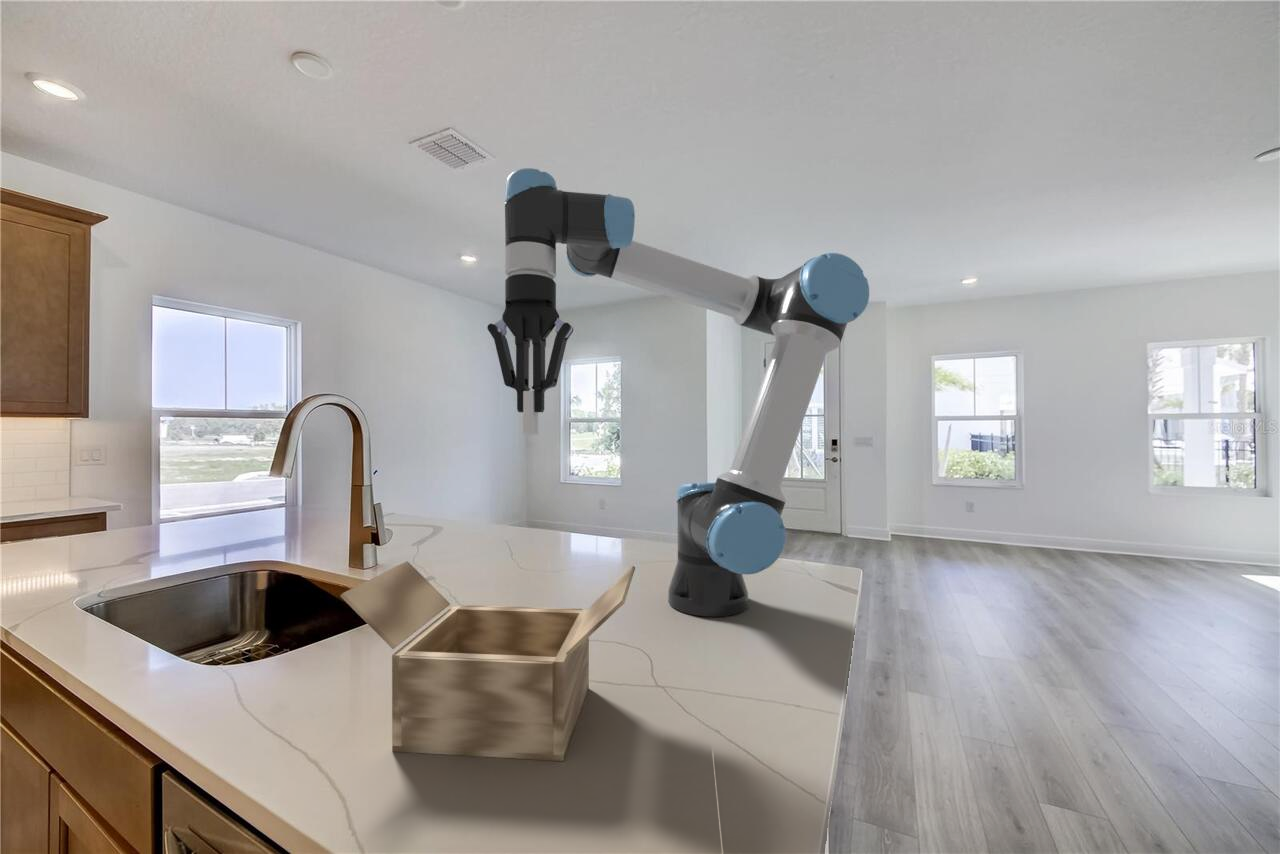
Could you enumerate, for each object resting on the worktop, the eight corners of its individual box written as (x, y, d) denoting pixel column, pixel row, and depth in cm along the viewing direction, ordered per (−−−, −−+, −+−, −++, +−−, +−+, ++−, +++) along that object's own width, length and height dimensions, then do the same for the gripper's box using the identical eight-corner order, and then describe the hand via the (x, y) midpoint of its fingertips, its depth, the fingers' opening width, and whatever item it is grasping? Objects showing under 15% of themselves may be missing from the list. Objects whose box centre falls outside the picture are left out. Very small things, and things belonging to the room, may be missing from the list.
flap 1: (407, 560, 65) (405, 563, 65) (342, 593, 53) (339, 595, 53) (450, 603, 65) (448, 606, 65) (395, 646, 52) (392, 649, 52)
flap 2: (588, 608, 63) (590, 610, 63) (565, 653, 51) (568, 656, 51) (633, 565, 63) (635, 567, 63) (621, 600, 50) (624, 603, 50)
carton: (589, 685, 65) (589, 608, 65) (562, 764, 50) (562, 664, 50) (455, 680, 66) (455, 604, 66) (389, 754, 51) (389, 657, 51)
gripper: (578, 285, 79) (578, 434, 79) (497, 286, 80) (497, 433, 80) (567, 270, 72) (567, 435, 72) (479, 272, 73) (479, 434, 73)
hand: (530, 434), depth 76 cm, fingers closed
